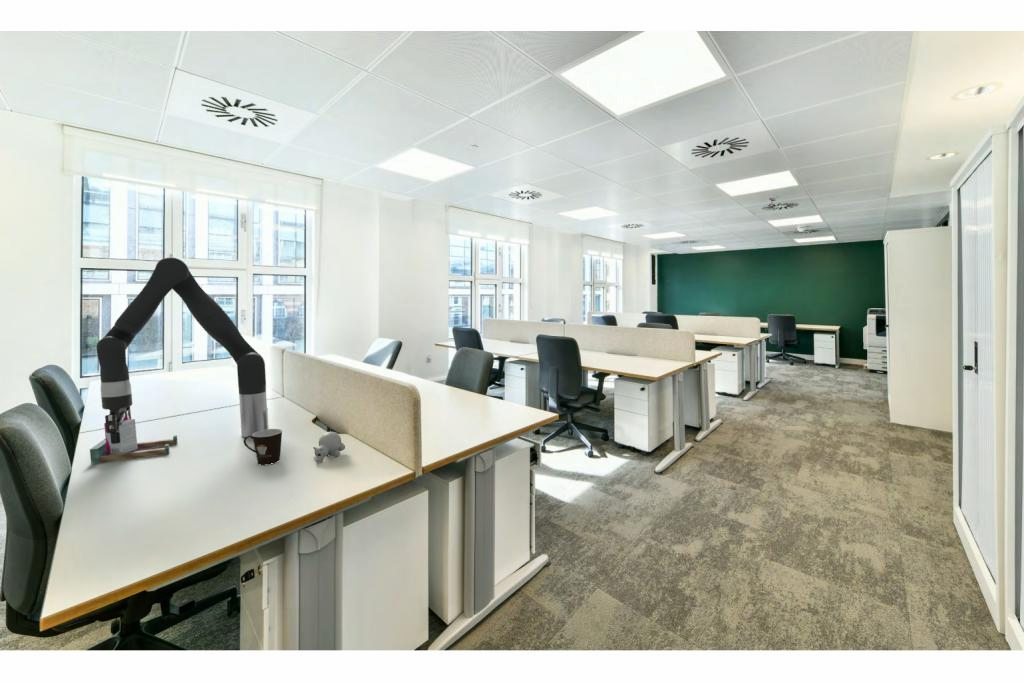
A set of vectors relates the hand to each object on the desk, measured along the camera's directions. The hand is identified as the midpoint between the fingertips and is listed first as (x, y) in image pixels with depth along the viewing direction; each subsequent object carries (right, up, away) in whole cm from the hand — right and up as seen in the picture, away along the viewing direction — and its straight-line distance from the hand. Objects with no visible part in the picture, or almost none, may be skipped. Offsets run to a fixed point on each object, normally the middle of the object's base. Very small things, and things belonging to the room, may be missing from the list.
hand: (120, 439), depth 142 cm
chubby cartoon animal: (+72, -6, -1) cm, 73 cm away
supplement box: (0, -5, +1) cm, 5 cm away
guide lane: (+4, -5, +2) cm, 7 cm away
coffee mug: (+53, -7, -4) cm, 53 cm away
